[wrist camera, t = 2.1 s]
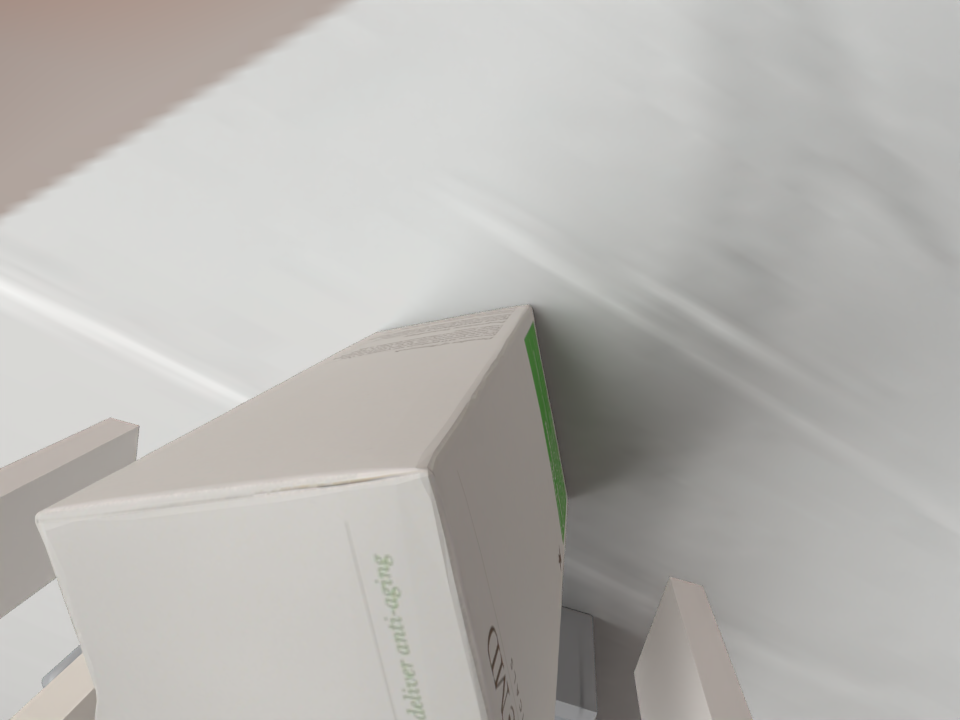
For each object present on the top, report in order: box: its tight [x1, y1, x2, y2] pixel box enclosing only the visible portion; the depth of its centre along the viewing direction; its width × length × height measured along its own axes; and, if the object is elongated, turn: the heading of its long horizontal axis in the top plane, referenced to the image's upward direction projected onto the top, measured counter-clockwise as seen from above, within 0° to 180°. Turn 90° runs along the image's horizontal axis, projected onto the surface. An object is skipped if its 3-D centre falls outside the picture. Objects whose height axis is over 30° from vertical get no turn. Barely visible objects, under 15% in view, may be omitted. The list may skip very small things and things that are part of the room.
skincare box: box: [35, 304, 568, 720], centre depth 16 cm, size 8×7×16 cm
